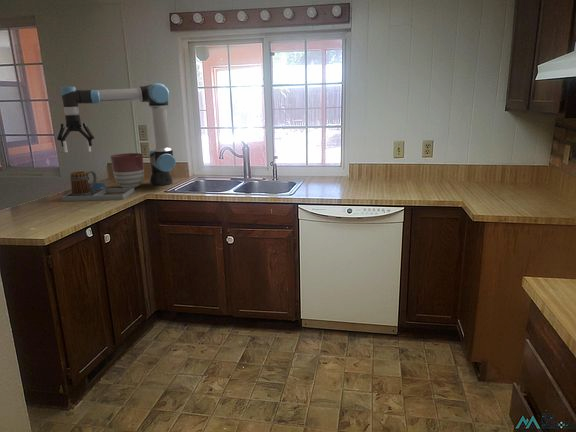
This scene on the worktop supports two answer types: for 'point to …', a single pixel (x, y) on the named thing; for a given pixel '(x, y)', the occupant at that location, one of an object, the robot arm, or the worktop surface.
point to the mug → (82, 183)
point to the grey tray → (100, 193)
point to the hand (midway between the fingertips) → (78, 152)
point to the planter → (128, 169)
